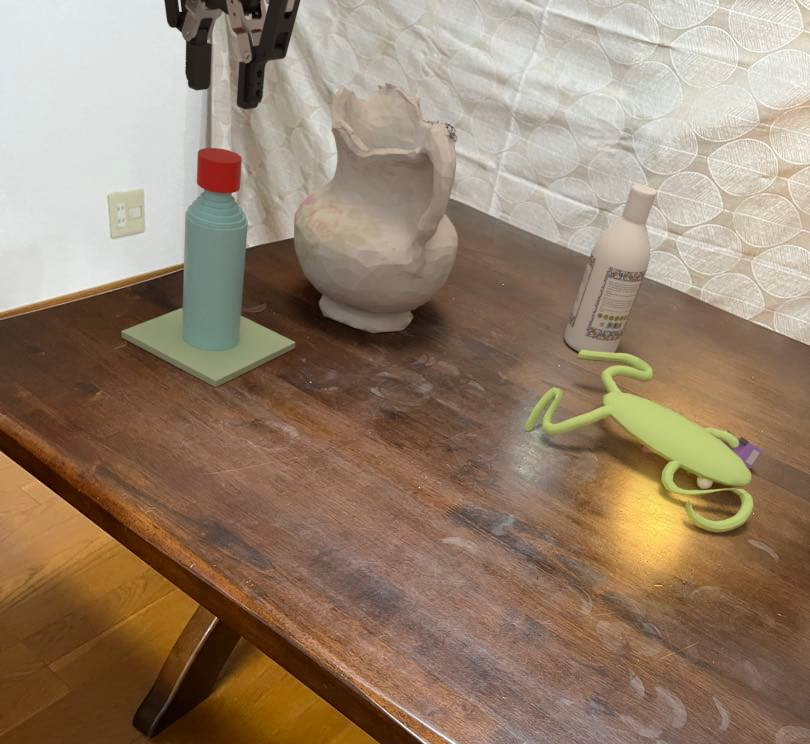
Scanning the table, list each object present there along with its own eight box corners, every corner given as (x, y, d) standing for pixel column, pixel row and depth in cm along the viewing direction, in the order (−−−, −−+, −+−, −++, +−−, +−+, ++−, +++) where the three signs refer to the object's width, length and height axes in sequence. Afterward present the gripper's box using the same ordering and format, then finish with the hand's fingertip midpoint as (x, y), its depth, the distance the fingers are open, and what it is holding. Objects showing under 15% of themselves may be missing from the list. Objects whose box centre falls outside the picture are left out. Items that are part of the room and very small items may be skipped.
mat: (121, 337, 91) (121, 330, 90) (206, 304, 100) (206, 298, 100) (215, 387, 87) (216, 380, 86) (295, 348, 96) (295, 342, 96)
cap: (187, 182, 82) (188, 151, 80) (216, 175, 85) (218, 145, 83) (220, 196, 81) (222, 165, 79) (248, 189, 84) (250, 159, 82)
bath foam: (625, 354, 111) (685, 198, 99) (591, 363, 107) (649, 202, 95) (586, 329, 115) (640, 176, 103) (552, 337, 111) (603, 179, 99)
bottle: (169, 334, 92) (173, 153, 80) (208, 319, 96) (216, 145, 84) (213, 357, 90) (222, 175, 78) (250, 339, 94) (265, 165, 82)
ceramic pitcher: (479, 349, 107) (546, 139, 93) (362, 370, 94) (420, 129, 80) (368, 277, 118) (412, 78, 103) (249, 287, 105) (282, 61, 91)
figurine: (586, 373, 105) (601, 331, 102) (790, 481, 94) (815, 439, 90) (500, 417, 93) (514, 372, 89) (722, 548, 82) (748, 502, 78)
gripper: (336, -112, 68) (310, 117, 78) (198, -151, 72) (191, 72, 83) (276, -120, 62) (257, 127, 73) (131, -161, 67) (133, 78, 78)
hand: (222, 97), depth 78 cm, fingers open, 5 cm apart
